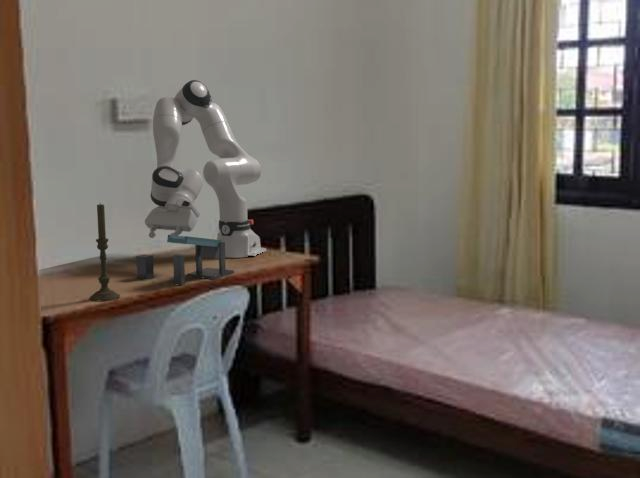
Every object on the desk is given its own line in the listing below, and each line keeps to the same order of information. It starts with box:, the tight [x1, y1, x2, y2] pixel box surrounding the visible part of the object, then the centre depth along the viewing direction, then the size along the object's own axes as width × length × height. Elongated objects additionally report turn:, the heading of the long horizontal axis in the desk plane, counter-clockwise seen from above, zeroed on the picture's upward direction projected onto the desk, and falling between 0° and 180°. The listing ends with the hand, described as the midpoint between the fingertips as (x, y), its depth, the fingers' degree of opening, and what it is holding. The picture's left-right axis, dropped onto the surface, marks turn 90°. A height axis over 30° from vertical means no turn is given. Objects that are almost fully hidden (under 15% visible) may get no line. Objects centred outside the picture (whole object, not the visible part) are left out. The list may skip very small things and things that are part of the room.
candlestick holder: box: [89, 202, 121, 302], centre depth 251 cm, size 9×9×30 cm
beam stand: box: [172, 242, 235, 286], centre depth 281 cm, size 25×12×12 cm, turn 152°
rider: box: [135, 253, 155, 280], centre depth 282 cm, size 4×4×8 cm
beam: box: [167, 234, 222, 259], centre depth 279 cm, size 23×9×6 cm, turn 152°
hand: (161, 237), depth 290 cm, fingers open, 8 cm apart
